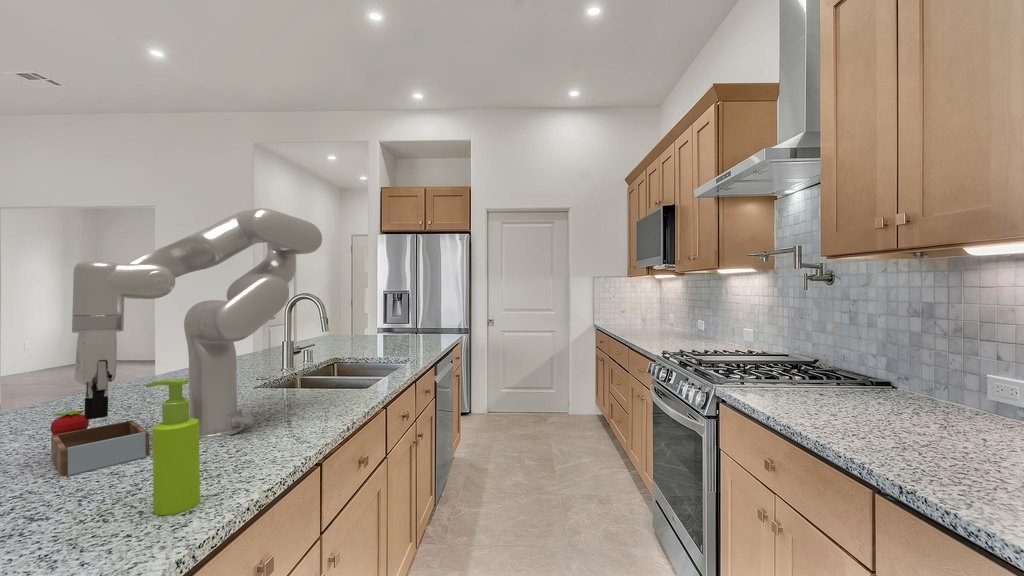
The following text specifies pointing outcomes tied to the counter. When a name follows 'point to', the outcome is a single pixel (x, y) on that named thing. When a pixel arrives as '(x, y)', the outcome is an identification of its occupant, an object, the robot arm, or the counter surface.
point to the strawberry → (69, 422)
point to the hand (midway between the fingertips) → (96, 417)
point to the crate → (90, 440)
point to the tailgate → (105, 453)
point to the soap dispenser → (175, 454)
